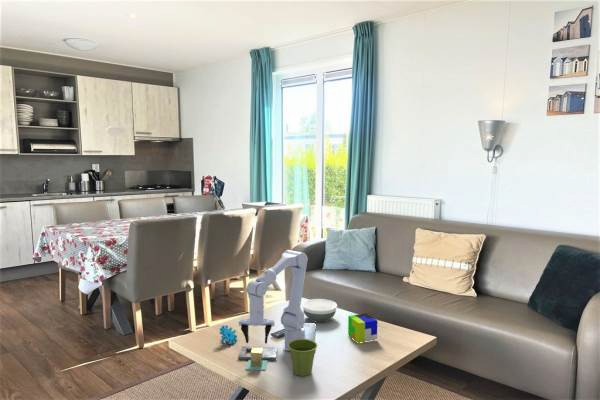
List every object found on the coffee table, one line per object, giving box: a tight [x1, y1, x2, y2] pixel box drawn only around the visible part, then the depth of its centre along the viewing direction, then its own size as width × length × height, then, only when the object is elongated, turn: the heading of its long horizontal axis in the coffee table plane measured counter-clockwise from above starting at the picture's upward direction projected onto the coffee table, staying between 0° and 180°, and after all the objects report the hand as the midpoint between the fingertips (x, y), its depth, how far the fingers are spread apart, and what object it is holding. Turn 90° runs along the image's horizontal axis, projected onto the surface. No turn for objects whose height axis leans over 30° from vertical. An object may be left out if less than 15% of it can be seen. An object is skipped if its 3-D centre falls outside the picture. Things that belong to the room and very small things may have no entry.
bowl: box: [301, 298, 338, 323], centre depth 222 cm, size 19×19×8 cm
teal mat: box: [245, 360, 268, 371], centre depth 172 cm, size 8×8×1 cm
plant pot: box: [288, 338, 319, 377], centre depth 166 cm, size 12×12×11 cm
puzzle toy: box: [347, 312, 378, 344], centre depth 199 cm, size 10×10×10 cm
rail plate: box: [237, 345, 279, 362], centre depth 181 cm, size 16×10×1 cm, turn 88°
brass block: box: [250, 348, 263, 367], centre depth 172 cm, size 4×4×6 cm
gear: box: [219, 324, 238, 345], centre depth 194 cm, size 11×6×10 cm
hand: (256, 342), depth 171 cm, fingers open, 7 cm apart
